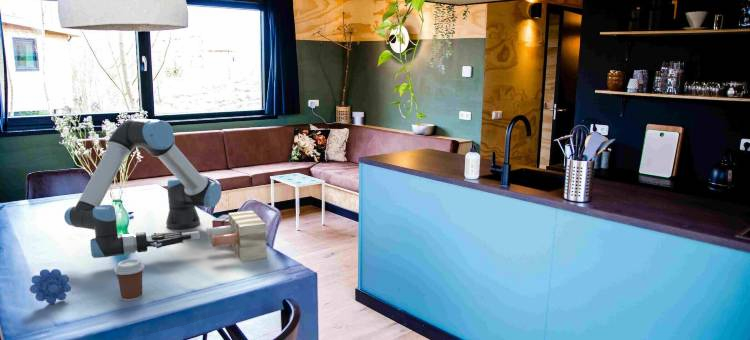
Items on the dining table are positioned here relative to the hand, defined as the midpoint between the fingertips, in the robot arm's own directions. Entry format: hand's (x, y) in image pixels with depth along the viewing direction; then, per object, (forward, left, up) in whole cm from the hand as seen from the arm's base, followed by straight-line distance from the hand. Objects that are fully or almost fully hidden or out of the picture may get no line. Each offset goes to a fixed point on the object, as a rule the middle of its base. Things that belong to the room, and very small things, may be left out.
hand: (199, 234), depth 223 cm
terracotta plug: (+12, +10, -2) cm, 16 cm away
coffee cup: (+34, -27, -8) cm, 44 cm away
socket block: (+6, +18, -8) cm, 21 cm away
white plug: (0, +10, -2) cm, 10 cm away
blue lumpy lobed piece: (+29, -50, -8) cm, 58 cm away
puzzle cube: (-12, +14, -8) cm, 20 cm away
